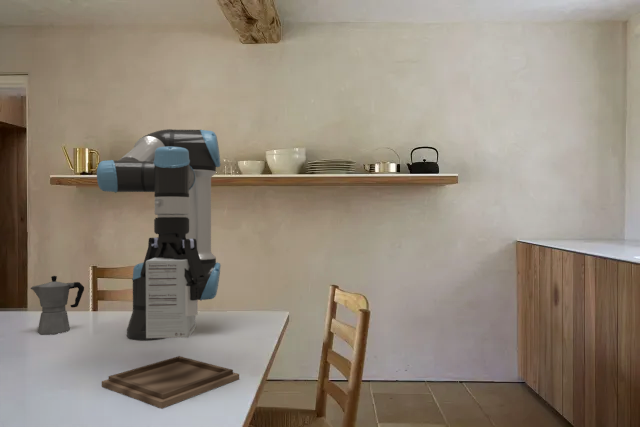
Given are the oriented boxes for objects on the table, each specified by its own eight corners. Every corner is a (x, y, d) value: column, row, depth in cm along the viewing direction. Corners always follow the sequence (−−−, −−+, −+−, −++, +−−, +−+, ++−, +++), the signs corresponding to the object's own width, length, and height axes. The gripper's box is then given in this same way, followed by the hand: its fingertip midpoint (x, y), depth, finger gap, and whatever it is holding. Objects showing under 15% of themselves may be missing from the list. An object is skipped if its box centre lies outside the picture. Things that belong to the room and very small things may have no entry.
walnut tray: (101, 386, 108) (101, 376, 108) (179, 363, 125) (179, 354, 125) (161, 408, 95) (161, 397, 95) (239, 379, 112) (239, 369, 112)
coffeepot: (28, 336, 152) (28, 278, 152) (32, 330, 161) (32, 275, 161) (83, 332, 158) (83, 276, 158) (84, 326, 167) (84, 273, 167)
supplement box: (156, 328, 114) (155, 256, 114) (196, 327, 115) (196, 255, 115) (144, 338, 105) (144, 259, 105) (188, 337, 106) (188, 259, 106)
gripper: (124, 216, 114) (124, 308, 114) (195, 216, 100) (195, 321, 100) (152, 216, 120) (152, 303, 120) (222, 216, 106) (222, 315, 106)
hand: (171, 312), depth 110 cm, fingers closed on supplement box, 13 cm apart
